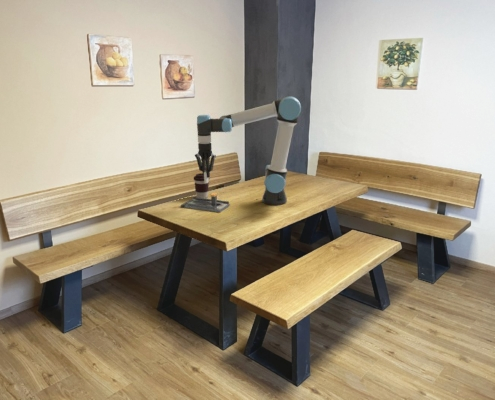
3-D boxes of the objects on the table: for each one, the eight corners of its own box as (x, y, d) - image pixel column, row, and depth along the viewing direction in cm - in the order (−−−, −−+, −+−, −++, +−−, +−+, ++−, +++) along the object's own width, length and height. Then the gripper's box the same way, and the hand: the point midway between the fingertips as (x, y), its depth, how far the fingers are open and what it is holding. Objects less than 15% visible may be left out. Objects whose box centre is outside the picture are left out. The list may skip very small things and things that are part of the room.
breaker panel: (229, 206, 250) (229, 202, 250) (220, 212, 239) (219, 208, 238) (191, 201, 260) (191, 197, 259) (180, 207, 248) (180, 203, 248)
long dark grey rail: (229, 203, 255) (229, 200, 255) (227, 204, 253) (227, 202, 252) (195, 199, 264) (195, 196, 263) (193, 200, 261) (192, 197, 261)
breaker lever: (217, 204, 248) (217, 193, 246) (214, 206, 244) (214, 195, 242) (213, 204, 249) (213, 192, 247) (210, 206, 245) (210, 194, 243)
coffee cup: (207, 199, 262) (206, 176, 258) (192, 198, 264) (191, 175, 260) (211, 195, 272) (211, 173, 267) (197, 194, 274) (196, 172, 269)
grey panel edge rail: (195, 201, 259) (195, 198, 259) (183, 207, 247) (183, 205, 247) (193, 201, 260) (192, 198, 260) (181, 207, 248) (181, 204, 247)
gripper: (217, 142, 239) (219, 182, 245) (197, 141, 243) (199, 180, 250) (211, 144, 232) (213, 185, 239) (191, 143, 237) (193, 183, 244)
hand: (206, 182), depth 245 cm, fingers closed
